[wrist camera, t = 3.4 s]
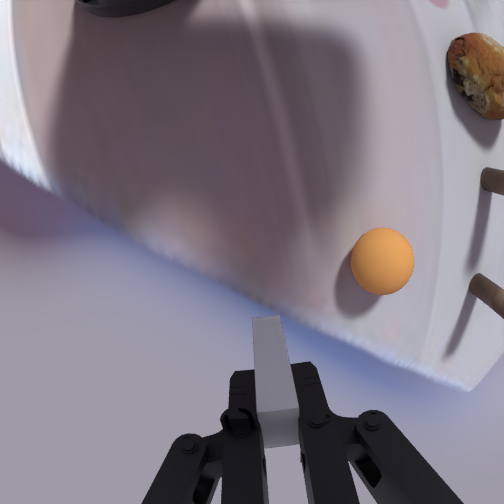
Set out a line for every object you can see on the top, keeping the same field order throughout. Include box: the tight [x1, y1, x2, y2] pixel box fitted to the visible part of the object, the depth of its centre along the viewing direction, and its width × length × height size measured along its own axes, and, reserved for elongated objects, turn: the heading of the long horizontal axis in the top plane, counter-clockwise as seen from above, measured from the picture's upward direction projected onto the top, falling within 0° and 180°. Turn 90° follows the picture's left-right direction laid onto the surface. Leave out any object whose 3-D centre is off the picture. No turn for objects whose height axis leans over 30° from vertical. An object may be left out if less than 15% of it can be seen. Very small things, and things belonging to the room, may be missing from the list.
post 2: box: [469, 273, 504, 319], centre depth 22 cm, size 3×3×9 cm
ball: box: [351, 228, 414, 295], centre depth 21 cm, size 6×6×6 cm
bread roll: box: [448, 33, 504, 120], centre depth 16 cm, size 10×10×8 cm
